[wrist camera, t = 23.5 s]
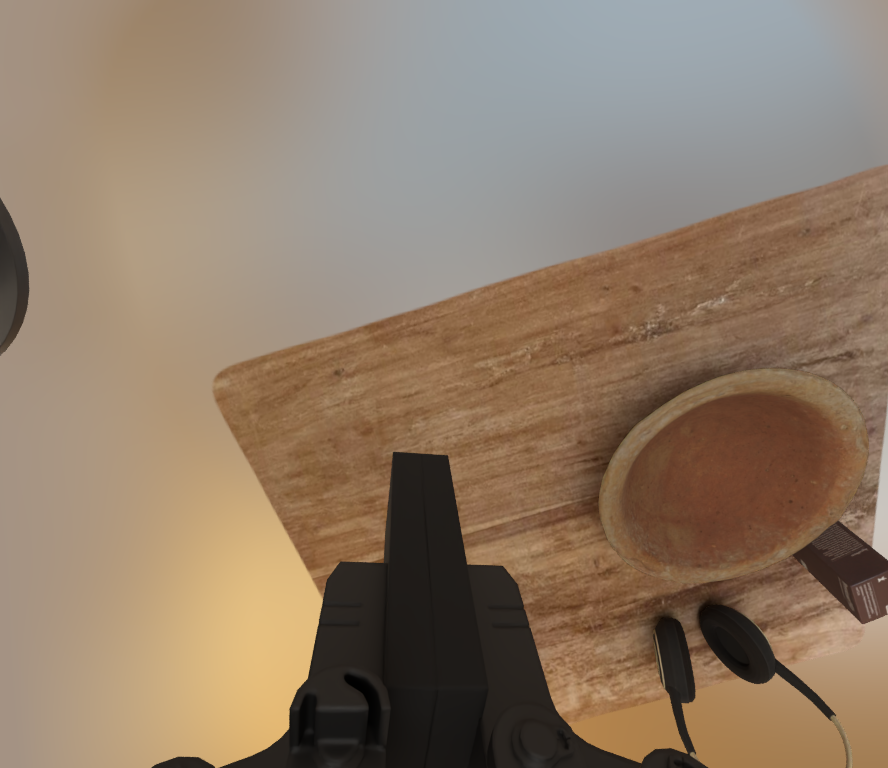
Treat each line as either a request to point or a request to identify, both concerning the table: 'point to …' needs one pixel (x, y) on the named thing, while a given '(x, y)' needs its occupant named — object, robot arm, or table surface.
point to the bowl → (733, 475)
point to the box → (849, 571)
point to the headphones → (724, 662)
